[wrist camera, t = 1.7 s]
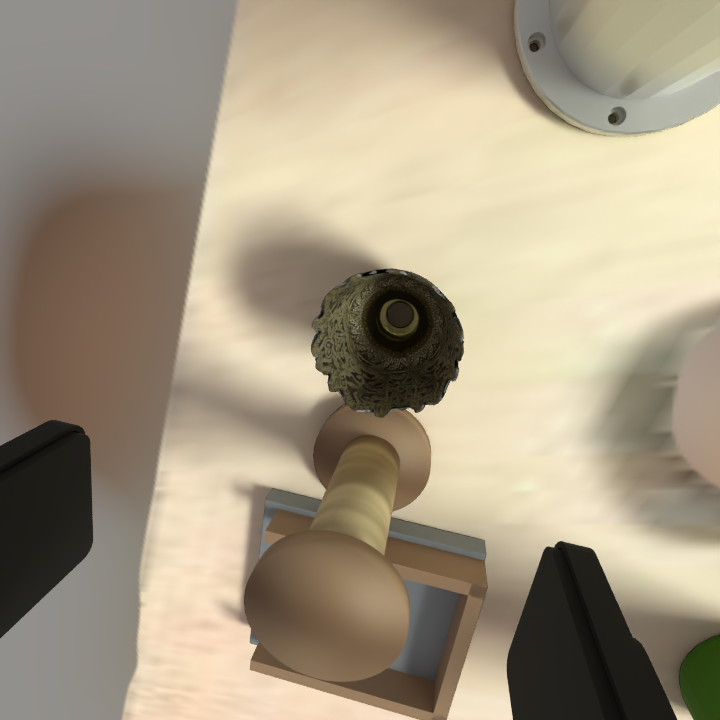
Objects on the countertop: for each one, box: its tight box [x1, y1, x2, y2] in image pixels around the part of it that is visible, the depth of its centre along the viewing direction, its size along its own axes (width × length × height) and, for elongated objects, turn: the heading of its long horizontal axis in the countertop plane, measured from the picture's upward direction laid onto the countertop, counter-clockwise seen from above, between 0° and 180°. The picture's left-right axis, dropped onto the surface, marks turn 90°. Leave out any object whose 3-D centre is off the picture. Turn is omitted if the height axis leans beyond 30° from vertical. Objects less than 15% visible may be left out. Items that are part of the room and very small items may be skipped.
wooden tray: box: [250, 489, 488, 720], centre depth 35 cm, size 14×16×4 cm
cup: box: [311, 269, 464, 418], centre depth 26 cm, size 8×7×8 cm
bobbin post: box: [244, 404, 431, 682], centre depth 26 cm, size 8×8×14 cm
